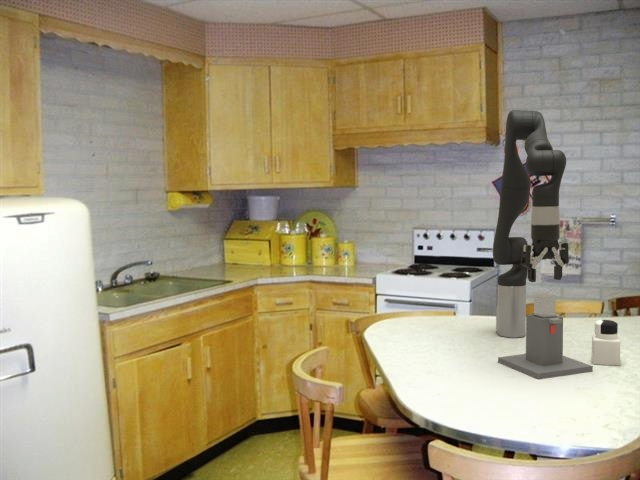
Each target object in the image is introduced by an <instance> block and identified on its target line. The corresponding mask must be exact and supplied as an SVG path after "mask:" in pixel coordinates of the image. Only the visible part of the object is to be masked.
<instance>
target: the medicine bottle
mask: <svg viewBox="0 0 640 480" xmlns="http://www.w3.org/2000/svg"><path fill="white" fill-rule="evenodd" d="M618 326H619V324H618V322H616V321H615V320H611V319H599V320H596V321H595V322H594V334H591V361H592V364H593V365H597V366H598V365H601V366H602V365H603V366H616V367H617V366H620V365H621V339H620V337H619V335H618Z"/></svg>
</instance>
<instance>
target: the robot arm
mask: <svg viewBox="0 0 640 480" xmlns="http://www.w3.org/2000/svg"><path fill="white" fill-rule="evenodd" d="M504 139H505V141H504V142H505V143H504V144H505V145H504V158H503V159H504V160H503V169H502V177H501V184H500V192H499V193H500V194H499V205H498V215H497V216H498V217H497V223H496V228H495V232H494V237H493V244H492V258H493V261H494V263H495V264H496V265H498V266H507V265H508V266H509V265H512V266H511V268H510V269H509V270H508V271H506V272H504V273H502V274H499V275H498V277H497V304H496V305H495V311H496V312H495V314H496V315H495V318H496V319H495V329H496V330H495V333H496V334H497V336H501V337H504V338H505V337H506V338H522V337H526V315H527V280H528V281H529V283H536V281H537V265H538V264H539V263H541V262H542V261H543V260H544V261H545V260H550V261H552V263H553V264H554V265H553V279H554V280H557V281H561V280H562V277H563V266H565V265H566V264H567V265H568V264H569V262H570V254H569V243H568V242H564V241H560V242H559V240H560V239H561V238H560V236H561V235H560V234H561V233H560V231H561V229H560V228H561V225H560V224H561V215H560V214H561V213H560V187H561V184H562V179H563V176H564V173H565V169H566V166H567V157H566V155H565V153H564V152H563V151H562V150H561V149H553V146H552V144H551V142H550V141H549V139H548V135H547V128H546V122H545V119H544V115H543V114H542V113H541V112H540V111H538V110H518V109H517V110H510V111H509V112H508V114H507V118H506V123H505V138H504ZM517 141H524V145H523V146H524V151H525V153H526V155H527V156H526V159H525V166H524V164H523V162H522V160H521V158H520V155H519V152H518V150H517ZM530 175H531V176H534V177H550V179H549V181H548V182H545V183H542V184H538V185H534V186H533V188H532V191H531V186H532V181H531V177H530ZM531 192H532V193H531ZM530 194H532V195H531V197H532V198H531V199H532V201H531V203H532V204H531V206H532V207H531V215H530V217H531V218H530V223H531V224H530V229H531V230H530V239H531V241H532V242H531V244H528V241H527V239H526V238H525V237H524V236H522V237H521V236H510V233H511V229H512V228H513V224H514V223H515V221H516V220H517V219H518V217H519V216H520V215H521V214H522V213H523V212H524V210H525V209H526V206H527V205H528V203H529V201H530Z"/></svg>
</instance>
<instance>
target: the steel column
mask: <svg viewBox="0 0 640 480" xmlns="http://www.w3.org/2000/svg"><path fill="white" fill-rule="evenodd" d="M533 308H534V309H533V314H534V316H536V317H539V318H543V319H544V318H553V317H555V315H556V294H555V295H554V294H551V293H535V294H534V295H533Z"/></svg>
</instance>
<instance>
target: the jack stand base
mask: <svg viewBox="0 0 640 480" xmlns="http://www.w3.org/2000/svg"><path fill="white" fill-rule="evenodd" d="M563 349H564V317H563V316H560V315H556V314H555V317H553V318H544V319H543V318H539V317H536V316H534V313H533V314H526V335H525V353H522V354H516V355H515V354H513V355H508V356H507V355H506V356H499V357H497V363H499V364H500V365H503V366H506V367H508V368H509V369H513V370H516V371H517V372H521V373H522V374H525V375H527V376H529V377H532V378H535V379H536V380H541V379H542V380H543V379H547V378H548V379H549V378H554V377H555V378H556V377H563V376H569V375H576V374H582V373H583V374H584V373H585V374H586V373H591V372H593V365H591V364H589V363H585V362H582V361H579V360H576V359H574V358H571V357H569V356H565V355H563V353H564V352H563V351H564V350H563Z"/></svg>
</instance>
